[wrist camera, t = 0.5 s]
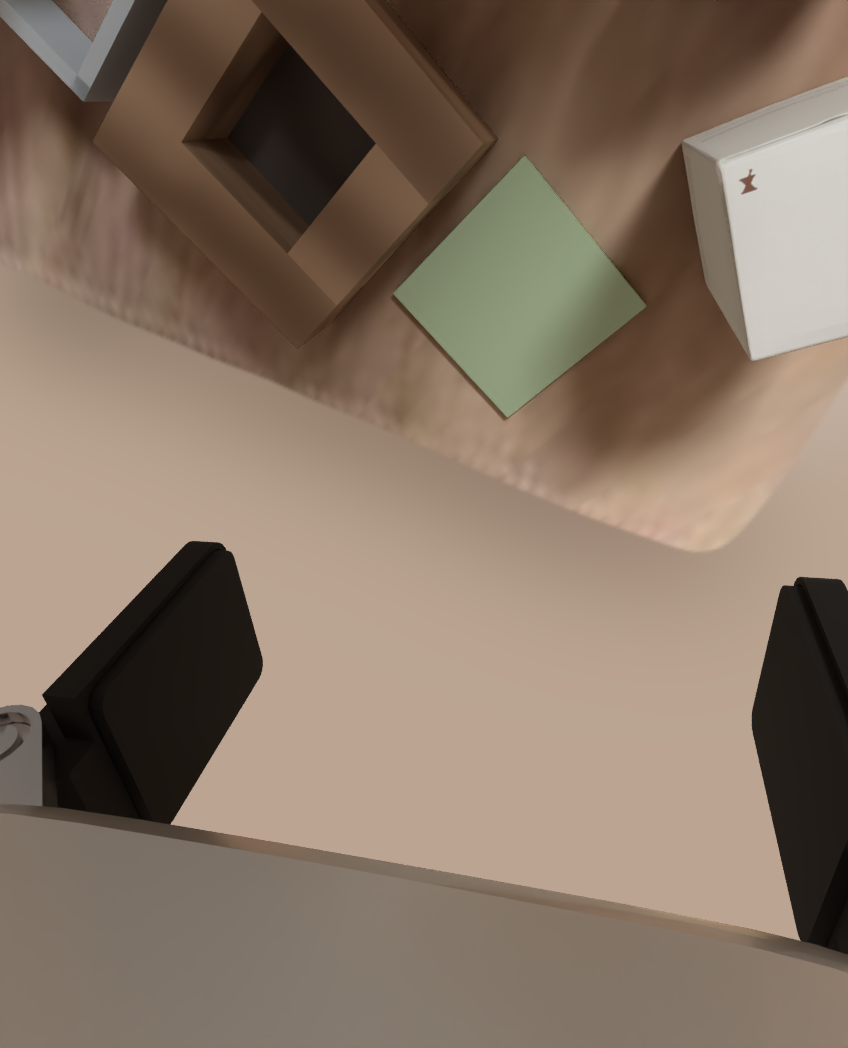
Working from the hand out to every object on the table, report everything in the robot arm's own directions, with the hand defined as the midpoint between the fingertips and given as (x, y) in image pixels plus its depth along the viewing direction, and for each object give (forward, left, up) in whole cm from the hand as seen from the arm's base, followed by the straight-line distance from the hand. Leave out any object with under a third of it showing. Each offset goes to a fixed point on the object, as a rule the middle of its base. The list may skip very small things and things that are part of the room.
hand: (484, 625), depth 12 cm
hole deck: (+6, -14, -30) cm, 34 cm away
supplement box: (-9, +4, -30) cm, 32 cm away
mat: (+3, -1, -30) cm, 30 cm away
